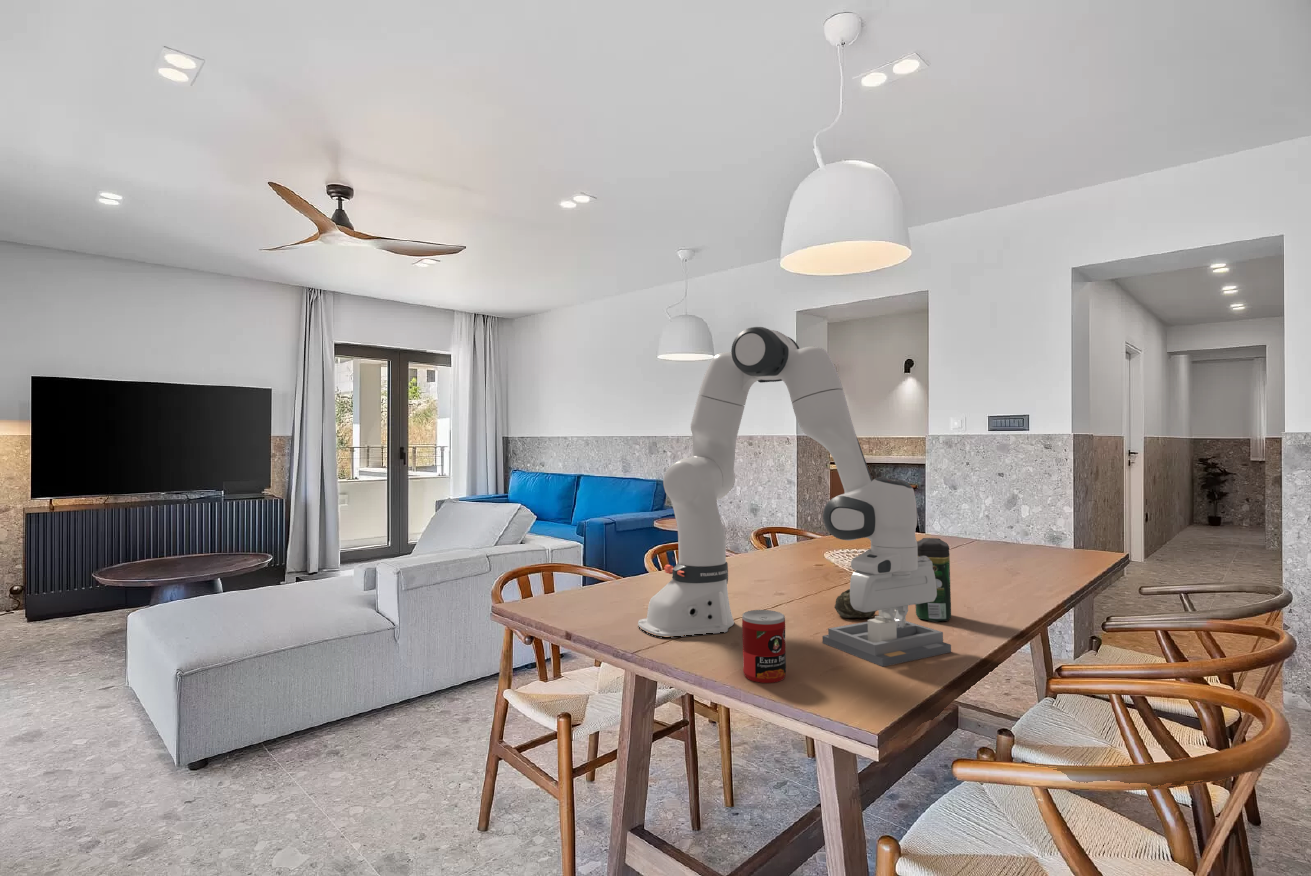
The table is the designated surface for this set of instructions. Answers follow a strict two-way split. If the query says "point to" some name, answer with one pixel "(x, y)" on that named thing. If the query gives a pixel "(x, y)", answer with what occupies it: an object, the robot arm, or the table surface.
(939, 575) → the coffee jar
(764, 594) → the table surface
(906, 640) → the switch bank
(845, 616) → the dark green lumpy mound
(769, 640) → the canned food
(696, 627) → the robot arm
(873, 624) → the tab near
